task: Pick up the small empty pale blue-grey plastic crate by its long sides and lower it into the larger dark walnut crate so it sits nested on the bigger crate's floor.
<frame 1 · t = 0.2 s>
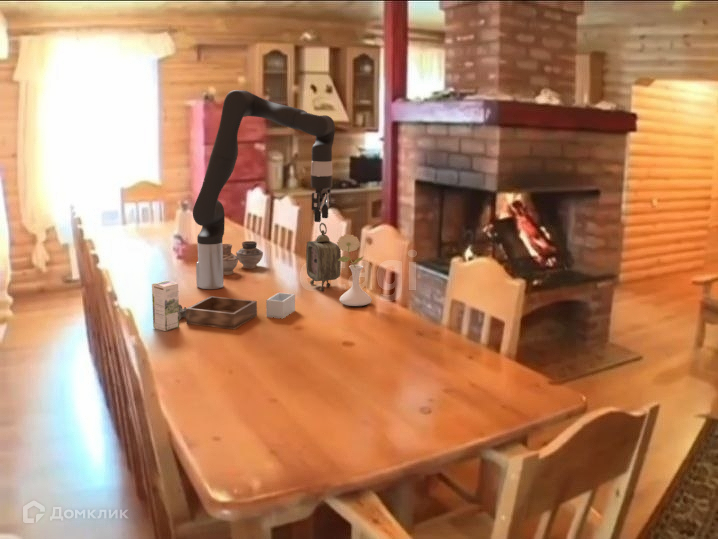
hand: (321, 219, 260), 29 cm above the table, tool pointing down, fingers open, 8 cm apart
small crate: (280, 314, 248), on the table
syrup box: (166, 328, 231), on the table
flower in vase: (353, 304, 261), on the table
pottery: (239, 270, 308), on the table
egg carton: (172, 319, 241), on the table
tabletop clock: (323, 287, 283), on the table
walnut crate: (222, 319, 240), on the table
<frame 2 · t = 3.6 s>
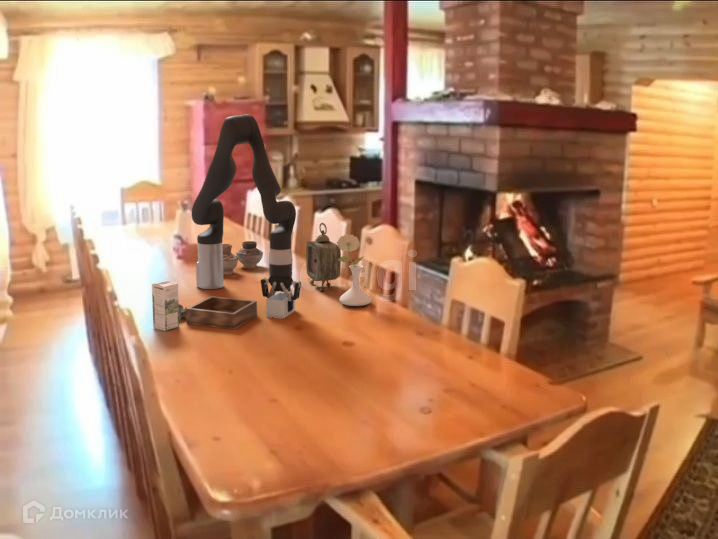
hand: (280, 310, 247), 1 cm above the table, tool pointing down, fingers closed on small crate, 6 cm apart
small crate: (280, 313, 248), on the table, touching gripper
everything else where it was.
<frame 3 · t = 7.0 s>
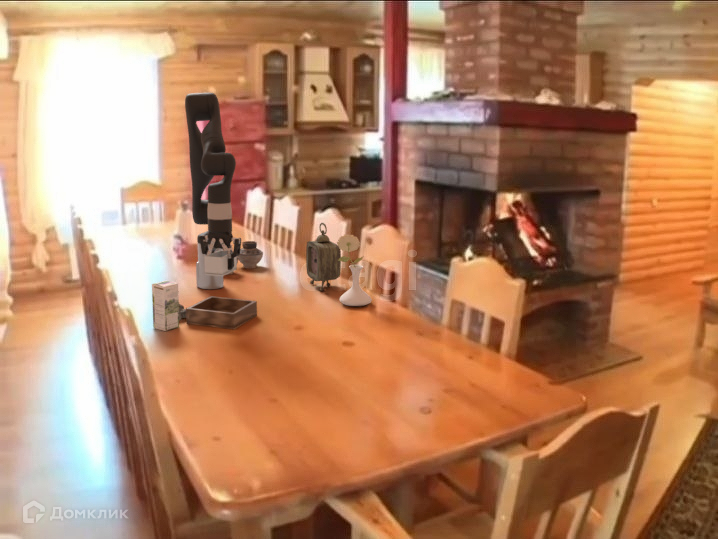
hand: (221, 268, 236), 17 cm above the table, tool pointing down, fingers closed on small crate, 6 cm apart
small crate: (221, 272, 236), point 16 cm above the table, touching gripper
everything else where it was.
when the fingers open (3 cm above the table, at t = 10.4 s): small crate stays where it is, resting on walnut crate.
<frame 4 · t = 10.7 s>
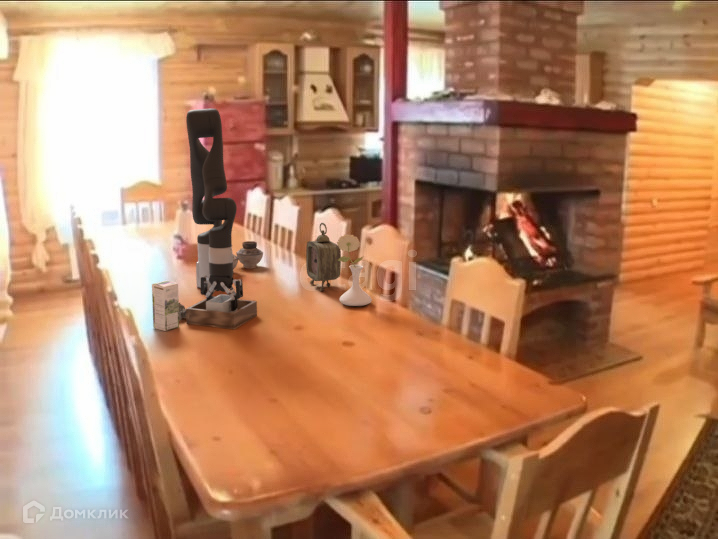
hand: (222, 309, 239), 4 cm above the table, tool pointing down, fingers open, 8 cm apart
small crate: (222, 316, 240), point 1 cm above the table, touching walnut crate
everything else where it was.
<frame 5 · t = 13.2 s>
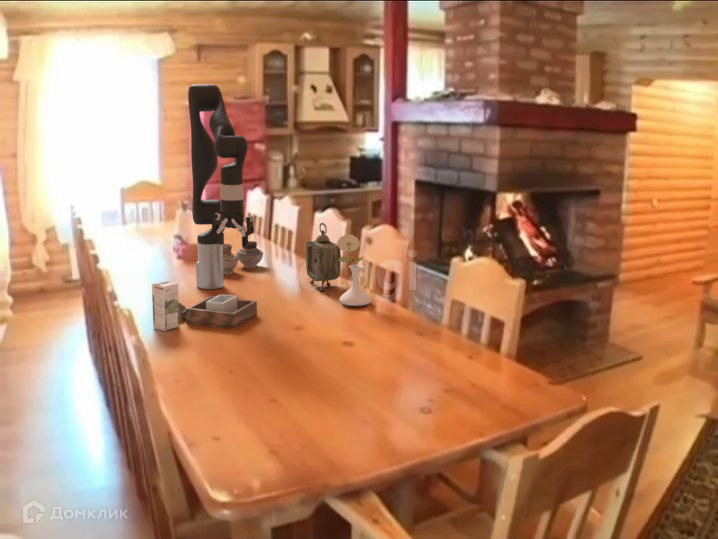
hand: (233, 245, 245), 22 cm above the table, tool pointing down, fingers open, 8 cm apart
nothing on the table moved.
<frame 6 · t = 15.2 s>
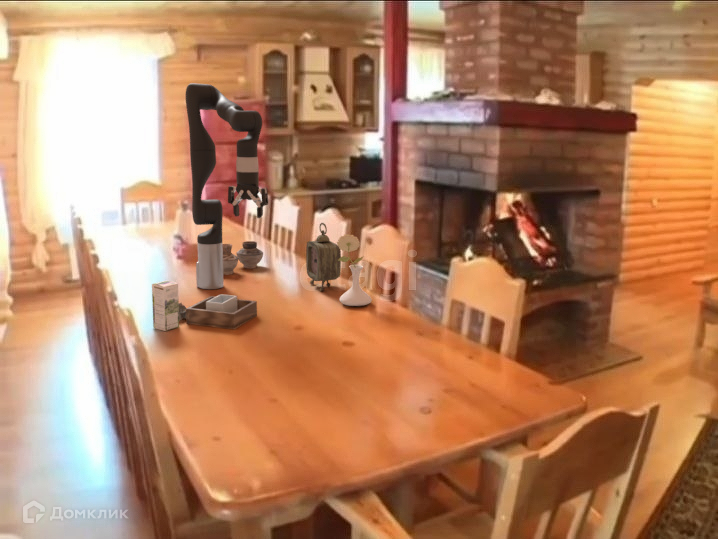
hand: (248, 216, 256), 30 cm above the table, tool pointing down, fingers open, 8 cm apart
nothing on the table moved.
at the end: small crate 0.1 cm off-centre on the walnut crate, point 1.0 cm above the walnut crate's base; small crate tilted 0°; the gripper is holding nothing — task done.
